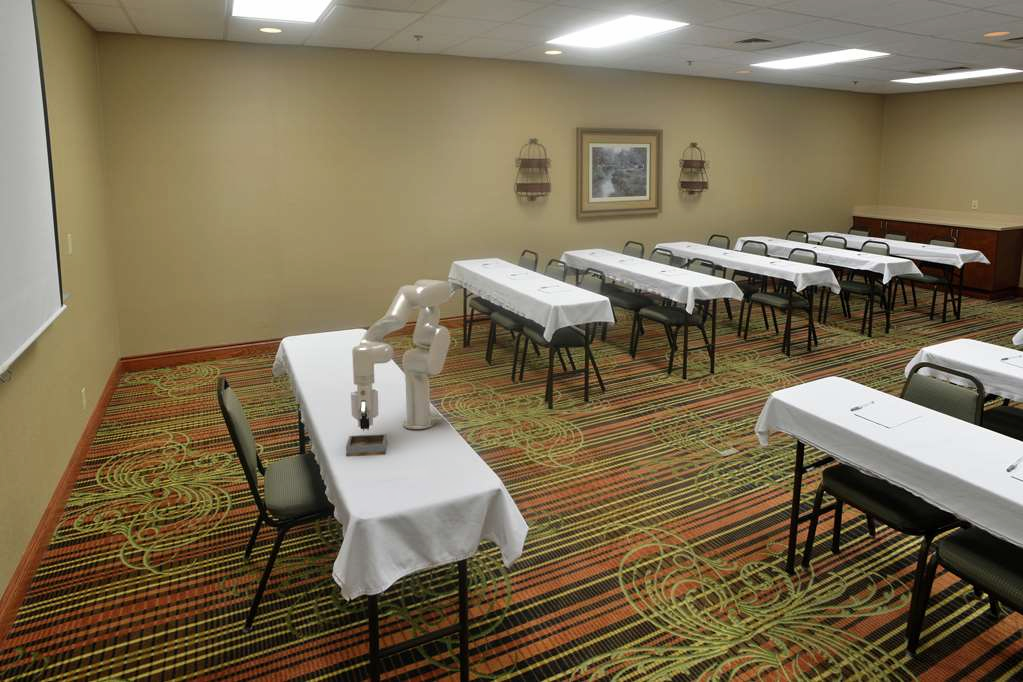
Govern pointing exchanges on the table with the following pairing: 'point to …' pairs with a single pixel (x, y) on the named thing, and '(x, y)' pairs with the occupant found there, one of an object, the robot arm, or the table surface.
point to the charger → (371, 414)
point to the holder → (366, 445)
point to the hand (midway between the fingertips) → (365, 425)
